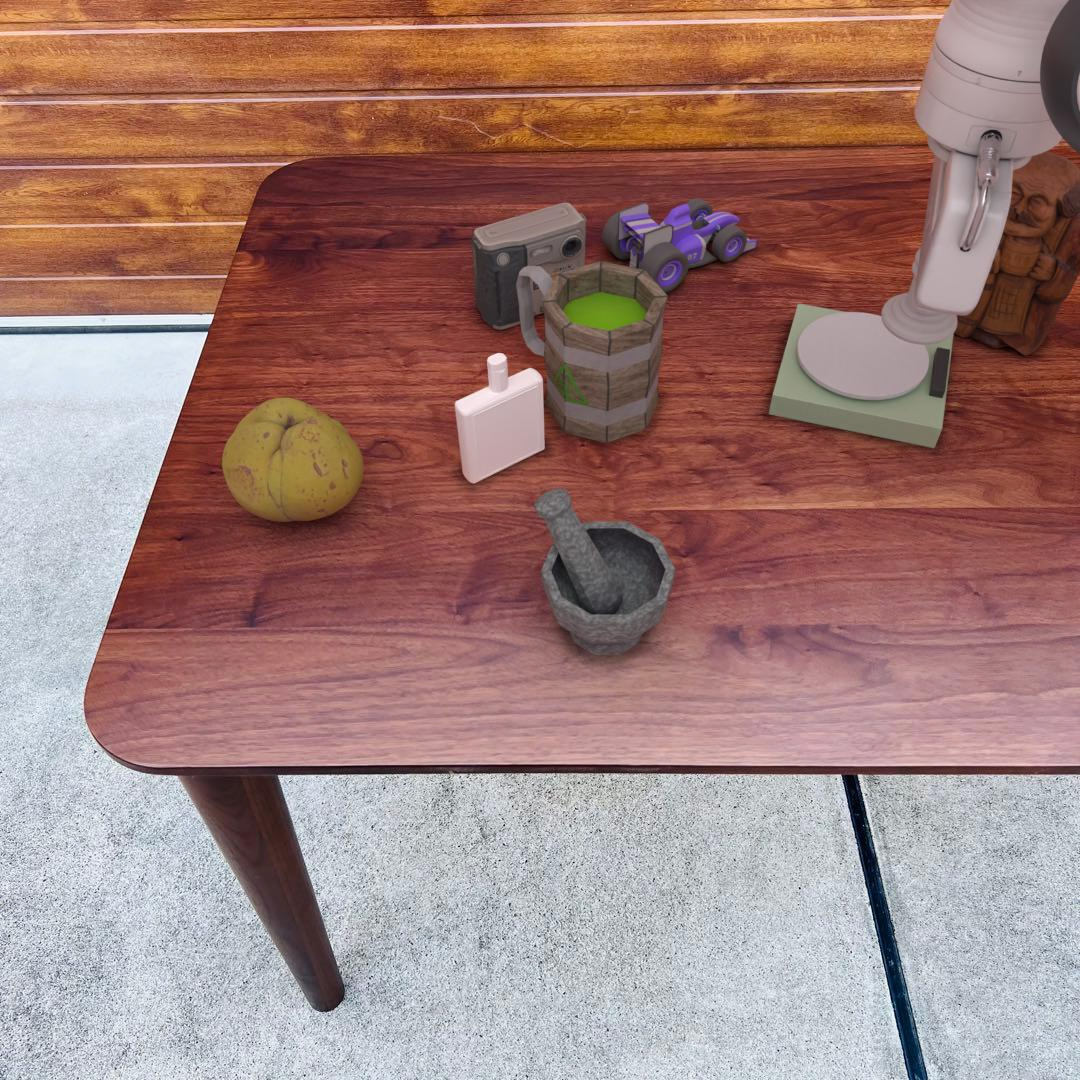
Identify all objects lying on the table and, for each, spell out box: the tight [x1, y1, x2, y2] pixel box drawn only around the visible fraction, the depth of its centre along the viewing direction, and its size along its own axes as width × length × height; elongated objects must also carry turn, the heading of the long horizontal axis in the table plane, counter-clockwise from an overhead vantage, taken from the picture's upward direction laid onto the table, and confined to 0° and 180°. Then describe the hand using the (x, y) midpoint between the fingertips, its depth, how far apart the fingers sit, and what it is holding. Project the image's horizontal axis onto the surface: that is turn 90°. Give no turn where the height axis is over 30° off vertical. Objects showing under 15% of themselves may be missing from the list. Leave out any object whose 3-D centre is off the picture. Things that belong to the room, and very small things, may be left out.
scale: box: [768, 303, 955, 449], centre depth 95 cm, size 15×14×4 cm
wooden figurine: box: [954, 151, 1080, 356], centre depth 94 cm, size 12×6×18 cm, turn 54°
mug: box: [516, 260, 669, 444], centre depth 92 cm, size 16×11×12 cm
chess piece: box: [880, 247, 957, 345], centre depth 70 cm, size 5×5×9 cm
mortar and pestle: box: [533, 488, 676, 656], centre depth 75 cm, size 11×9×12 cm
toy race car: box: [601, 197, 758, 295], centre depth 107 cm, size 10×15×6 cm, turn 120°
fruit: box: [221, 397, 365, 523], centre depth 84 cm, size 11×12×10 cm
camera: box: [470, 202, 588, 331], centre depth 101 cm, size 11×6×10 cm, turn 114°
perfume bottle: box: [454, 352, 546, 485], centre depth 86 cm, size 8×2×12 cm, turn 123°
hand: (931, 285), depth 71 cm, fingers closed on chess piece, 3 cm apart
